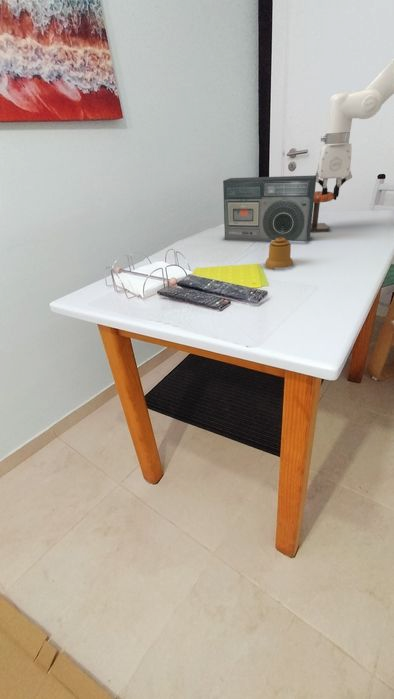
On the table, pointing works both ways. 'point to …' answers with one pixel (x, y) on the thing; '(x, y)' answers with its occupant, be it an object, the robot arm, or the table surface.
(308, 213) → the cassette player
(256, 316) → the table surface
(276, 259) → the ornamental finial
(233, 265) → the table surface
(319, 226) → the wooden bookend
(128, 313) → the table surface
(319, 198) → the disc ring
